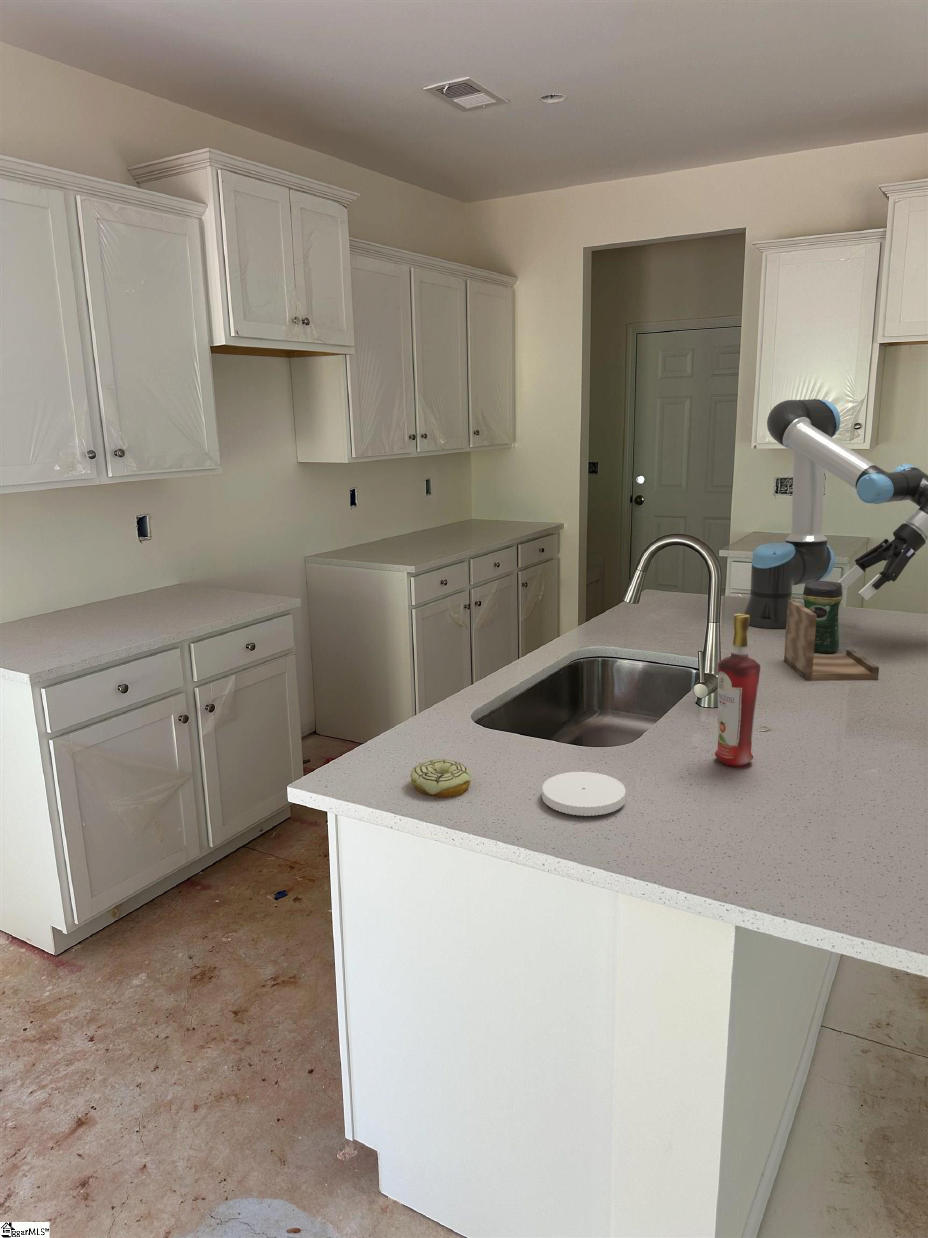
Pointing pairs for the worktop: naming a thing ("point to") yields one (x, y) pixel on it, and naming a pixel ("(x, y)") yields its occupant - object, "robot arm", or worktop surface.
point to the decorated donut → (441, 778)
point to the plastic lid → (583, 793)
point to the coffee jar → (824, 612)
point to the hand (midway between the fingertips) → (851, 590)
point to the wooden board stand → (819, 666)
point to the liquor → (737, 699)
